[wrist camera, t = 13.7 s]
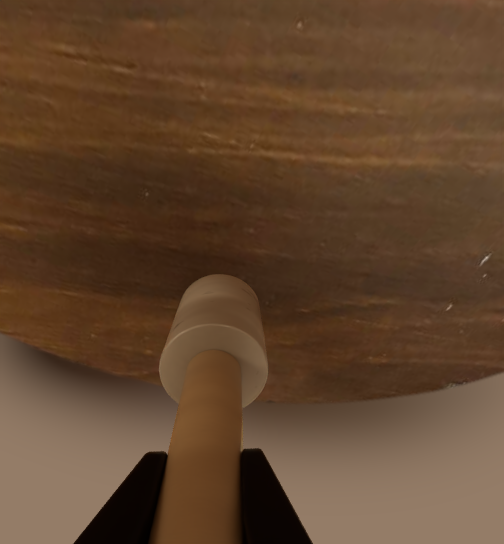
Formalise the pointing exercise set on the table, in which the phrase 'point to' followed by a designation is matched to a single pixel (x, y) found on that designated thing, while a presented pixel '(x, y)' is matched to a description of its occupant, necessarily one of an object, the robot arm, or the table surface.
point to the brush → (209, 411)
